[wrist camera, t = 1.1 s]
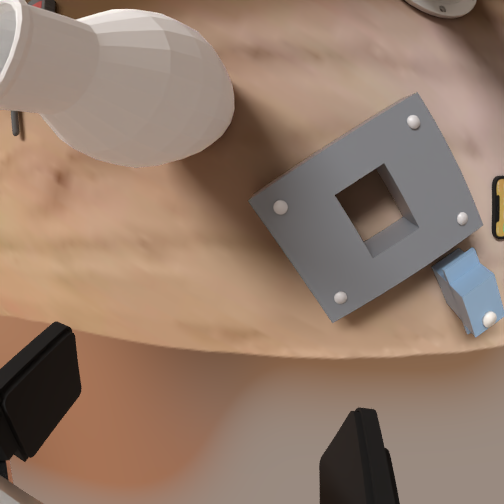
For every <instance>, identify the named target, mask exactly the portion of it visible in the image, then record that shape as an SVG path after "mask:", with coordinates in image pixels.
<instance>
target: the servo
mask: <svg viewBox="0 0 504 504" xmlns="http://www.w3.org/2000/svg"><path fill="white" fill-rule="evenodd" d="M432 269H433V272H434V274H435V276H436V278H437V281H438V283H439V285H440V288H441V290H442V293H443V295H444V298H445V300H446V302H447V304H448V305H449V306H450V307H451V309H452V310H453V311H454V312H455V313H456V314H457V316H458V317H459V318H460V319H461V320H462V323H463V325H464V328H465V331H466V333H467V334H469V333H472V334H473V335H474V336H475V338H476V337H477V336H478V335H480V334H481V333H483V332H484V331H485V330H487V329H488V328H489V327H491V326H493V325H494V324H495V323H496V322H497V321H499V320H500V319H501V318H503V317H504V309H503V305H502V301H501V297H500V293H499V290H498V286H497V282H496V279H495V275H494V273H492V272H491V271H490V270H488V269H487V268H486V267H484V266H483V265H482V264H480V262H479V259H478V257H477V254H476V251H475V249H474V248H470V249H469V250H468V251H466V252H463V251H462V250H461V249H459V248H458V249H456V250H455V251H454V252H452V253H451V254H449V255H448V256H447V257H445V258H444V259H442V260H441V261H439V262H438V263H436V264H435V265H433V266H432Z"/></svg>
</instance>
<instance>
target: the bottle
mask: <svg viewBox="0 0 504 504" xmlns="http://www.w3.org/2000/svg"><path fill="white" fill-rule="evenodd" d="M0 110H12V111H23V112H33V113H39V114H40V115H41V117H42V118H43V119H44V120H45V122H46V123H47V124H48V125H49V126H50V128H51V129H52V130H53V131H54V132H55V134H56V135H57V136H58V137H59V138H60V139H61V140H62V141H64V142H65V143H67V144H68V145H69V146H71V147H72V148H73V149H75V150H78V151H80V152H82V153H84V154H86V155H88V156H90V157H92V158H94V159H96V160H100V161H104V162H108V163H112V164H116V165H122V166H128V167H134V168H139V167H149V166H159V165H162V164H166V163H170V162H173V161H177V160H181V159H184V158H186V157H189V156H191V155H194V154H196V153H199V152H201V151H202V150H204V149H205V148H207V147H208V146H210V145H211V144H212V143H214V142H215V141H216V140H217V139H219V138H220V137H221V136H222V135H223V134H224V132H225V131H226V129H227V128H228V126H229V125H230V123H231V120H232V117H233V113H234V110H235V107H234V92H233V86H232V83H231V80H230V77H229V75H228V72H227V70H226V67H225V66H224V64H223V63H222V61H221V59H220V58H219V56H218V55H217V53H216V52H215V50H214V48H213V47H212V46H211V45H210V44H209V43H208V42H207V41H206V39H205V38H204V37H203V36H202V35H201V34H200V33H199V32H198V31H196V30H194V29H192V28H191V27H189V26H187V25H185V24H183V23H181V22H179V21H177V20H175V19H172V18H170V17H168V16H165V15H163V14H161V13H155V12H149V11H142V10H135V9H113V10H109V11H105V12H101V13H97V14H94V15H90V16H87V17H83V18H80V19H77V20H75V19H72V18H69V17H66V16H63V15H60V14H57V13H54V12H51V11H48V10H44V9H41V8H38V7H34V6H31V5H28V4H27V3H26V1H25V0H0Z"/></svg>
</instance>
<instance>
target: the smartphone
mask: <svg viewBox="0 0 504 504" xmlns="http://www.w3.org/2000/svg"><path fill="white" fill-rule="evenodd" d="M492 234H493V236H494V237H496V238H498V239H504V176H497V177H495V178H494V180H493V182H492Z"/></svg>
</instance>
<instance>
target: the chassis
mask: <svg viewBox="0 0 504 504" xmlns="http://www.w3.org/2000/svg"><path fill="white" fill-rule="evenodd" d="M374 169H376V170H377V171H378V173H379V175H380V176H381V178H382V180H383V181H384V183H385V185H386V187H387V188H388V190H389V192H390V194H391V195H392V197H393V199H394V201H395V203H396V204H397V206H398V208H399V210H400V212H401V214H402V216H403V217H402V218H401V219H399V220H398V221H396V222H395V223H393V224H391V225H390V226H388V227H387V228H385V229H384V230H382V231H381V232H379V233H378V234H376V235H374V236H373V237H371V238H370V239H368V240H367V241H365V242H363V241H362V239H361V237H360V235H359V234H358V232H357V230H356V229H355V227H354V225H353V224H352V222H351V221H350V219H349V217H348V216H347V214H346V212H345V211H344V209H343V208H342V206H341V204H340V203H339V201H338V200H337V198H336V197H335V195H336V194H337V193H339V192H340V191H342V190H343V189H345V188H346V187H348V186H350V185H351V184H353V183H354V182H356V181H357V180H359V179H360V178H362V177H363V176H365V175H367V174H368V173H370V172H371V171H373V170H374ZM248 202H249V203H250V205H251V206H252V207H253V209H254V210H255V212H256V213H257V215H258V216H259V217H260V219H261V220H262V222H263V223H264V224H265V226H266V227H267V229H268V230H269V232H270V233H271V234H272V236H273V237H274V239H275V240H276V241H277V243H278V244H279V246H280V247H281V249H282V250H283V252H284V253H285V254H286V256H287V257H288V259H289V260H290V262H291V263H292V264H293V266H294V267H295V269H296V270H297V272H298V273H299V275H300V276H301V278H302V279H303V280H304V282H305V283H306V285H307V286H308V288H309V289H310V291H311V292H312V294H313V295H314V296H315V298H316V299H317V301H318V302H319V304H320V305H321V307H322V308H323V310H324V311H325V313H326V314H327V316H328V317H329V319H330V320H331V322H332V323H333V322H335V321H337V320H339V319H340V318H342V317H344V316H346V315H347V314H349V313H351V312H353V311H354V310H356V309H358V308H359V307H361V306H363V305H365V304H366V303H368V302H370V301H371V300H373V299H375V298H376V297H378V296H380V295H381V294H383V293H384V292H386V291H388V290H389V289H391V288H392V287H394V286H396V285H397V284H399V283H400V282H402V281H404V280H405V279H407V278H408V277H410V276H411V275H413V274H414V273H416V272H417V271H419V270H420V269H422V268H423V267H425V266H426V265H428V264H429V263H431V262H432V261H434V260H435V259H437V258H438V257H440V256H441V255H443V254H444V253H446V252H447V251H448V250H450V249H451V248H453V247H454V246H455V245H457V244H458V243H460V242H461V241H462V240H464V239H465V238H467V237H468V236H469V235H471V234H472V233H473V232H475V231H476V230H477V229H479V228H480V227H481V226H483V223H482V221H481V218H480V215H479V213H478V210H477V208H476V205H475V203H474V200H473V198H472V196H471V193H470V191H469V188H468V186H467V184H466V182H465V179H464V177H463V175H462V173H461V171H460V169H459V167H458V164H457V162H456V160H455V158H454V156H453V154H452V152H451V150H450V148H449V146H448V144H447V143H446V141H445V139H444V137H443V135H442V133H441V131H440V130H439V128H438V126H437V124H436V122H435V121H434V119H433V117H432V115H431V114H430V112H429V110H428V109H427V107H426V105H425V104H424V102H423V100H422V99H421V97H420V96H419V94H418V92H417V93H414V94H412V95H409V96H407V97H405V98H402V99H400V100H398V101H397V102H395V103H393V104H392V105H390V106H388V107H387V108H385V109H383V110H382V111H380V112H379V113H377V114H375V115H374V116H372V117H370V118H369V119H367V120H366V121H364V122H362V123H361V124H359V125H358V126H356V127H354V128H353V129H351V130H350V131H348V132H346V133H345V134H343V135H342V136H340V137H339V138H337V139H335V140H334V141H332V142H331V143H329V144H328V145H326V146H325V147H323V148H322V149H320V150H318V151H317V152H315V153H314V154H312V155H311V156H309V157H308V158H306V159H305V160H303V161H302V162H300V163H299V164H297V165H296V166H294V167H293V168H291V169H290V170H288V171H287V172H285V173H284V174H282V175H281V176H279V177H278V178H276V179H275V180H273V181H272V182H270V183H269V184H267V185H266V186H264V187H263V188H261V189H260V190H259V191H257V192H256V193H254V194H253V195H252V197H251V198H250V199H249V200H248Z"/></svg>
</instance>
